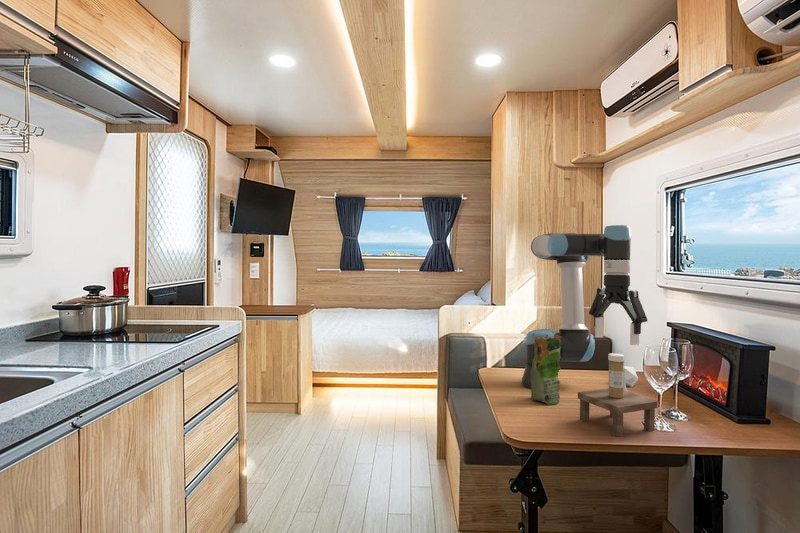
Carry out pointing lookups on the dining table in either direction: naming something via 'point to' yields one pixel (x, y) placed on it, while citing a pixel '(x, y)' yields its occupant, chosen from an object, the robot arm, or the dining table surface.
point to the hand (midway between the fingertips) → (616, 340)
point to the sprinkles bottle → (616, 375)
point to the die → (630, 376)
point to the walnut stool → (618, 407)
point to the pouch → (546, 369)
